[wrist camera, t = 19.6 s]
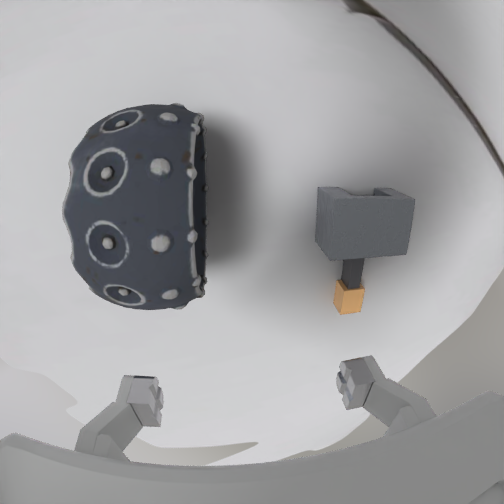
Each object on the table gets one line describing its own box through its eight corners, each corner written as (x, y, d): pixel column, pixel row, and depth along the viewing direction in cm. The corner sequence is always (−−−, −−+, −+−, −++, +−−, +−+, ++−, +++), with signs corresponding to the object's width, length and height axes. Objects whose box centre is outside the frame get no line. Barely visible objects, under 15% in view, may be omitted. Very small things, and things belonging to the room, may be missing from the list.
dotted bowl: (209, 109, 33) (193, 85, 14) (210, 255, 41) (204, 356, 23) (127, 115, 32) (41, 110, 13) (138, 256, 40) (88, 350, 22)
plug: (344, 197, 39) (354, 203, 36) (366, 197, 39) (377, 203, 36) (333, 302, 46) (340, 314, 43) (352, 300, 47) (360, 311, 44)
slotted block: (317, 187, 38) (334, 198, 32) (390, 188, 39) (415, 199, 33) (315, 241, 41) (330, 260, 36) (384, 237, 42) (406, 254, 36)
